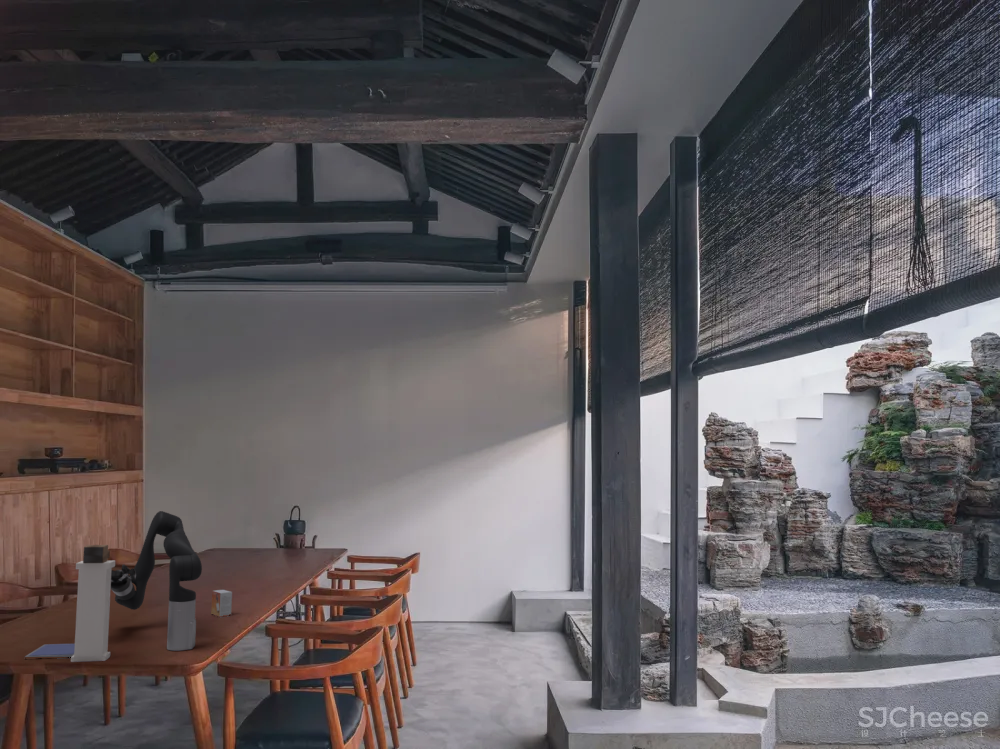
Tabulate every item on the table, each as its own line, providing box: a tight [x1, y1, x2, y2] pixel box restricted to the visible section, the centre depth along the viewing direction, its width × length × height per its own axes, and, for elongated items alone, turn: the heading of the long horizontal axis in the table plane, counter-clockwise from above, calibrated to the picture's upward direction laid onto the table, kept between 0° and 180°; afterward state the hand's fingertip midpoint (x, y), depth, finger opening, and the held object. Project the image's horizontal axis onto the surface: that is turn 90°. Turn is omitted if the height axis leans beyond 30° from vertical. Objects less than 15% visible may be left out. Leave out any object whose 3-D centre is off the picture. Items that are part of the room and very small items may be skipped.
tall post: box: [70, 560, 116, 663], centre depth 288 cm, size 11×6×33 cm, turn 100°
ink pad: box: [24, 643, 75, 659], centre depth 295 cm, size 16×18×1 cm
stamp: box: [82, 544, 111, 563], centre depth 293 cm, size 6×15×6 cm, turn 10°
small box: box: [210, 589, 233, 617], centre depth 363 cm, size 8×6×10 cm
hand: (110, 567), depth 307 cm, fingers open, 8 cm apart
